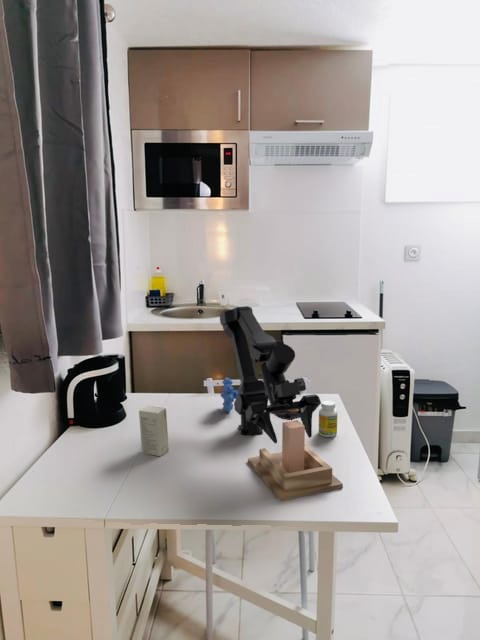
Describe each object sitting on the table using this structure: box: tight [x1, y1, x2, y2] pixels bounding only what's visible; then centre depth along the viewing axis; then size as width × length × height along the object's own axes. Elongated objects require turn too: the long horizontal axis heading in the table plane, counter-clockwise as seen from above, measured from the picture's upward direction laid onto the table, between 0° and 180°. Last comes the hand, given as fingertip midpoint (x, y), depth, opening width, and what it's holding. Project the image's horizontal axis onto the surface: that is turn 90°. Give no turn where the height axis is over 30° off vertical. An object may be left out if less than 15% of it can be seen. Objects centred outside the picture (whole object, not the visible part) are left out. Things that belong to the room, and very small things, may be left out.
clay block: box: [281, 419, 306, 473], centre depth 121 cm, size 4×4×12 cm
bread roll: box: [271, 409, 301, 421], centre depth 162 cm, size 11×8×4 cm
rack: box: [247, 444, 344, 502], centre depth 122 cm, size 20×16×4 cm
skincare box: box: [138, 405, 170, 457], centre depth 134 cm, size 6×4×12 cm
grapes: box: [220, 377, 238, 413], centre depth 163 cm, size 12×7×12 cm, turn 4°
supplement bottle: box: [318, 400, 338, 438], centre depth 145 cm, size 5×5×10 cm
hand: (293, 439), depth 120 cm, fingers open, 9 cm apart
